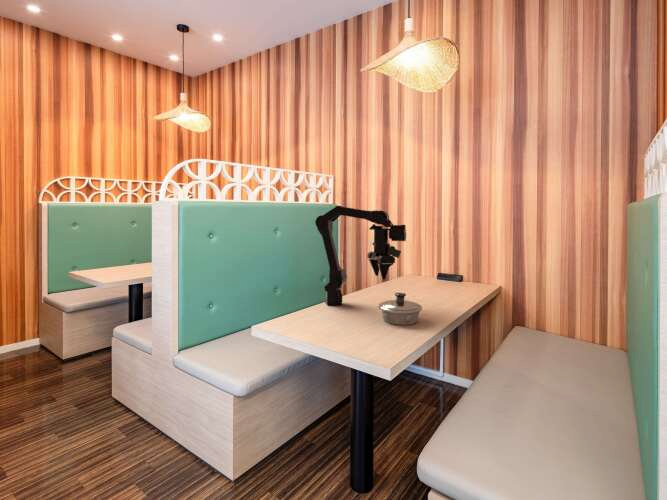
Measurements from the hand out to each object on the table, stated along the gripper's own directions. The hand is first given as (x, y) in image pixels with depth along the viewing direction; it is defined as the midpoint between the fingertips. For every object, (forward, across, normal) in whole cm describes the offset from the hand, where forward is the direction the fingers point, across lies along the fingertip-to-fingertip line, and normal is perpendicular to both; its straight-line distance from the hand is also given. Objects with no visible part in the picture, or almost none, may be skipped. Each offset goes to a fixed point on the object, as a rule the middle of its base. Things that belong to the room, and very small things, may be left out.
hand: (380, 277), depth 158 cm
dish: (+14, -19, -2) cm, 23 cm away
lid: (+8, -19, -2) cm, 21 cm away
